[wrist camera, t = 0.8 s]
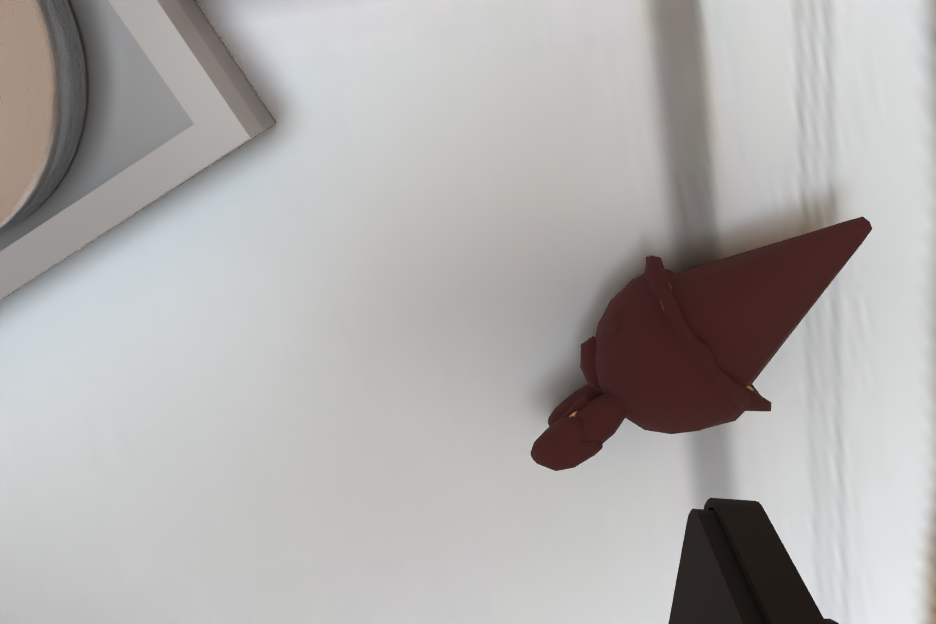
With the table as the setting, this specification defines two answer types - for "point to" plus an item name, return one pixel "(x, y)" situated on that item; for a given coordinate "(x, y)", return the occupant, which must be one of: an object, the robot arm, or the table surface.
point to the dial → (37, 102)
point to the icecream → (693, 342)
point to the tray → (136, 126)
